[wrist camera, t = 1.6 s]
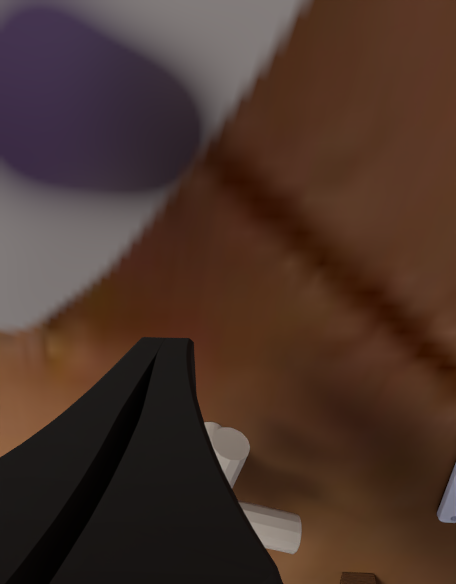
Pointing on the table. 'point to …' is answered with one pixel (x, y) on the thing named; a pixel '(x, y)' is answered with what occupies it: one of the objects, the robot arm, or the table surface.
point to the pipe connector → (265, 521)
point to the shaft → (357, 578)
